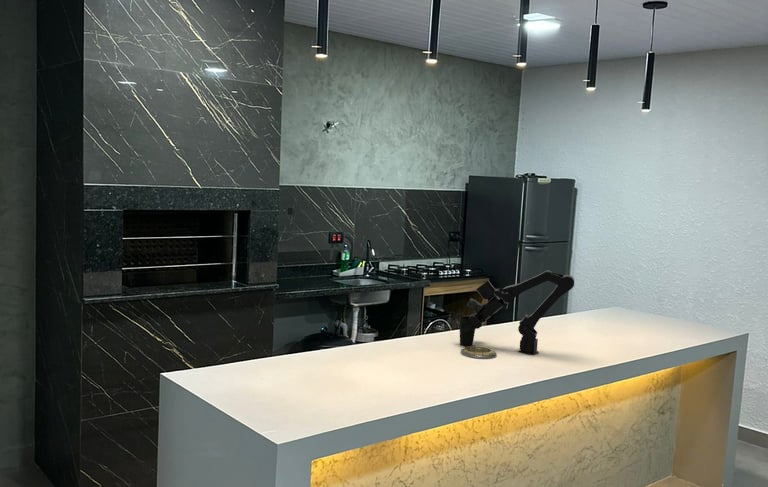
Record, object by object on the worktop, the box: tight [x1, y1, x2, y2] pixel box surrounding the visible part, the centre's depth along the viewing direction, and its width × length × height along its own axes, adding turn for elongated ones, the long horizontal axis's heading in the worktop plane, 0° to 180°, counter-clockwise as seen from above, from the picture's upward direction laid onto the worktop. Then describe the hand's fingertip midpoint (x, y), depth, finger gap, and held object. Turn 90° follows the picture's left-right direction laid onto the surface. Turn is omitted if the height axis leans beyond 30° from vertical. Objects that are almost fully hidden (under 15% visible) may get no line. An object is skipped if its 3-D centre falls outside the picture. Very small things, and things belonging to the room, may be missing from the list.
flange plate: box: [460, 345, 497, 360], centre depth 287 cm, size 15×15×2 cm
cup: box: [458, 315, 476, 347], centre depth 302 cm, size 8×8×12 cm
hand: (464, 329), depth 302 cm, fingers closed on cup, 8 cm apart
